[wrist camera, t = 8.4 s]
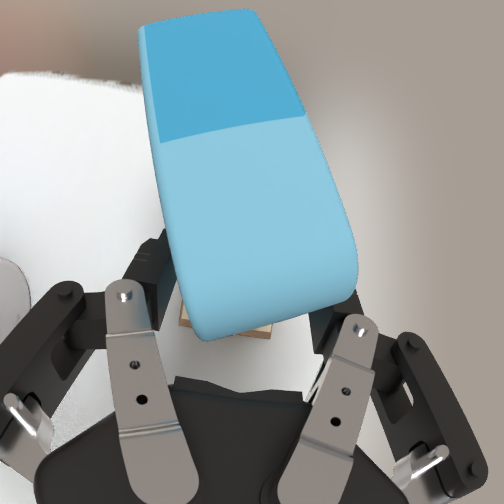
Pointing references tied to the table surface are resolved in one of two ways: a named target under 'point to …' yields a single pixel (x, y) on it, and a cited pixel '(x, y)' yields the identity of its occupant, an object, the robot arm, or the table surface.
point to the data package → (240, 177)
